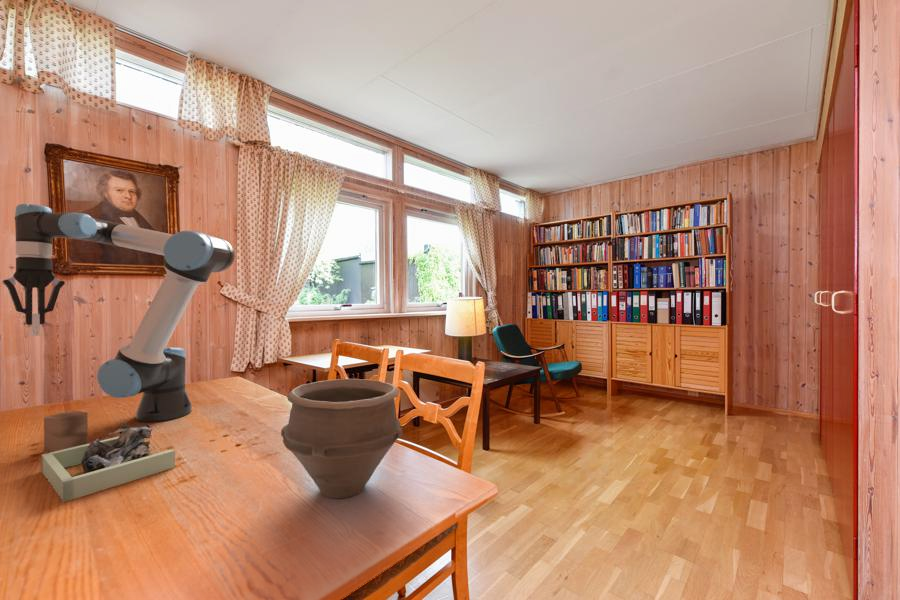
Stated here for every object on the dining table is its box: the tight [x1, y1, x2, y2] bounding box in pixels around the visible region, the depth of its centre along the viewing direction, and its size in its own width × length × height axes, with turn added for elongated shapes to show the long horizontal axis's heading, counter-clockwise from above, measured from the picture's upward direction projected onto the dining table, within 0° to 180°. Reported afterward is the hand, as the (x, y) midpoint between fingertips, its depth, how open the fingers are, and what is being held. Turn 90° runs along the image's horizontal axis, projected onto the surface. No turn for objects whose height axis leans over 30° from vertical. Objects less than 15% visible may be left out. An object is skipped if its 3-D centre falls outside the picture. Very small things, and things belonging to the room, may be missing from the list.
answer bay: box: [41, 435, 176, 503], centre depth 90 cm, size 19×22×4 cm
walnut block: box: [43, 410, 89, 453], centre depth 102 cm, size 6×6×9 cm
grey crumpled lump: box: [81, 422, 153, 473], centre depth 95 cm, size 12×11×15 cm
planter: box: [280, 378, 404, 500], centre depth 82 cm, size 25×24×22 cm
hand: (35, 335), depth 116 cm, fingers closed
